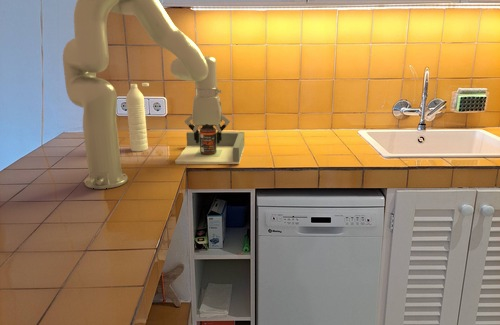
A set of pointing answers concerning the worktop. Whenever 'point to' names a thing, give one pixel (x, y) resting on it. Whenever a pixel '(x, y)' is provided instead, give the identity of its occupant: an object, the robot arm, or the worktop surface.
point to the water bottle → (137, 118)
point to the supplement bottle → (208, 140)
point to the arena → (226, 152)
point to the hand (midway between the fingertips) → (208, 142)
